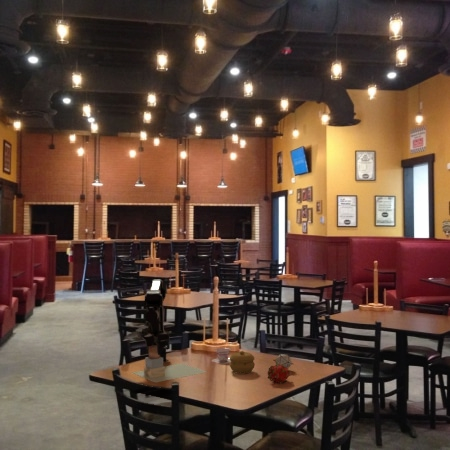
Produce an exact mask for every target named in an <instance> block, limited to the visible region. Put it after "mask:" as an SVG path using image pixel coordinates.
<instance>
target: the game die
mask: <svg viewBox="0 0 450 450" xmlns="http://www.w3.org/2000/svg"><path fill="white" fill-rule="evenodd" d="M273 361H274V363H275V365H279V366H280V365H281V364H282V365H283V366H284V367H287V368H288V369H289V368H291V366H292V365H294V362H292V359H291V358H290V353H288V354H285V353H284V354H282V353H281V352H279V355H278V356H277V357H276V358H275V359H273Z"/></svg>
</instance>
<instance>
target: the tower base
mask: <svg viewBox="0 0 450 450" xmlns="http://www.w3.org/2000/svg"><path fill="white" fill-rule="evenodd" d="M143 370H144V375H145V376H148V377H150V378H154V377H159V376H164V375H165V365H163V367H158V368H153V369H151V368H149V367H146V366H145V365H144V366H143Z"/></svg>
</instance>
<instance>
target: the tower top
mask: <svg viewBox="0 0 450 450" xmlns="http://www.w3.org/2000/svg"><path fill="white" fill-rule="evenodd" d="M144 361H145V362H144V364H145V365H144V366H146V367H149V368H151V369H153V368H158V367H163V366H164V362H163V358H162V357H160V358H158V359H149V356H147V357H146V356H145V357H144Z"/></svg>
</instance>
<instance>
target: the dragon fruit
mask: <svg viewBox="0 0 450 450" xmlns="http://www.w3.org/2000/svg"><path fill="white" fill-rule="evenodd" d="M290 374H291V373H290V372H289V368H287V367H284V366H283V365H282V364H281V365H280V366H279V365H276V364H274V365H270V366H269V368H268V370H267V375H268V376H267V379H269V381H270V382H273V384H277V383H279V384H283V383H286V382H287V379H288V378H289V377H290Z"/></svg>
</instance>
